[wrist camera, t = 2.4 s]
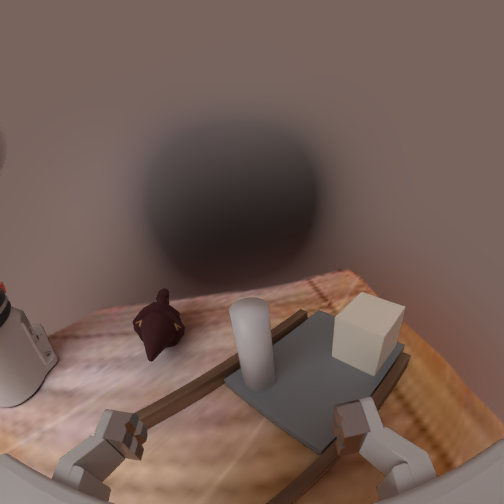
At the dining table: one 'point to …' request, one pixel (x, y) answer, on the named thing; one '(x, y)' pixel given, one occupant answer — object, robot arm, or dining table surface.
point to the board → (296, 373)
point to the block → (367, 332)
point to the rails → (219, 373)
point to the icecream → (158, 325)
